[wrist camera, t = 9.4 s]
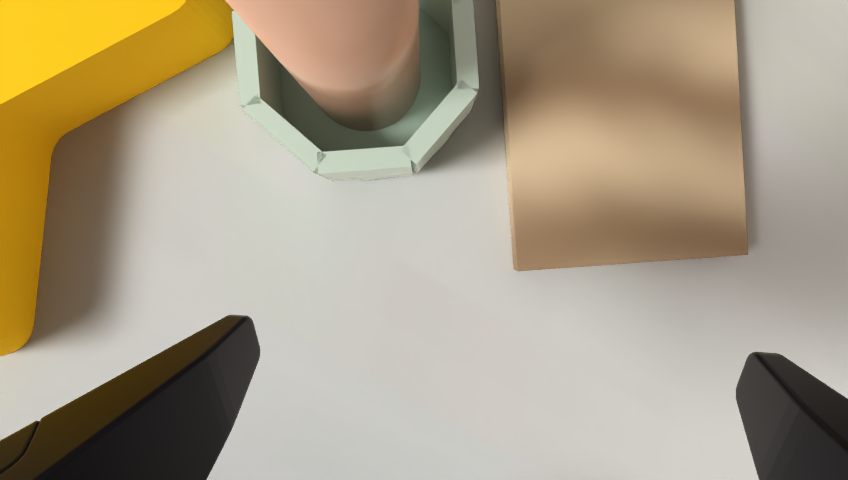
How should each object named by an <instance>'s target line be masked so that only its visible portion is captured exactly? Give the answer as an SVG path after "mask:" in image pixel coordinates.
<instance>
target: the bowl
mask: <svg viewBox="0 0 848 480" xmlns="http://www.w3.org/2000/svg"><path fill="white" fill-rule="evenodd" d="M418 3H419V32H420V62H421V82H420V88H419V92H418V95H417V97H416V100H415V102H414V103H413V105H412V107H411V108H410V109H409V111H408V112H407V113H406V114H405V115H404V116H403V117H402V118H401V119H400V120H398V121H397V122H396V123H394V124H392V125H390V126H388V127H386V128H383V129H379V130H375V131H357V130H352V129H349V128H346V127H344V126H341V125H340V124H338V123H336V122H335V121H333V120H332V119H331V118H330V117H328V116H327V115H326V113H325V112H324V111H323V110H322V109H321V108H320V107H319V106H318V105H317V103H316V102H315V101H314V100H313V99H312V98H311V97H310V96H309V94H308V93H307V92H306V91H305V90H304V89H303V88H302V87H301V85H300V84H299V83H298V82H297V81H296V80H295V79H294V77H293V76H292V75H291V74H290V73H289V72H288V71H287V70H286V68H285V67H284V66H283V65H282V64H281V63H280V62H279V61H278V59H277V58H276V57H275V56H274V55H273V54H272V53H271V51H270V50H269V49H268V48H267V47H266V46H265V45H264V44H263V42H262V41H261V40H260V39H259V38H258V37H257V36H256V35H255V33H254V32H253V31H252V30H251V29H250V28H249V27H248V25H247V24H246V23H245V22H244V21H243V20H242V19H241V18H240V16H239V15H238V14H237V13H236V12H235V11H232V21H233V33H234V45H235V57H236V70H237V82H238V94H239V105H240V106H241V107H243V108H244V109H243V110H242V111H243V112H244V113H245V114H247V115H248V116H249V117H250V118H251V119H252V120H254V121H255V122H256V123H257V124H258V125H259V126H260V127H262V128H263V129H264V130H265V131H266V132H267V133H269V134H270V135H271V136H272V137H273V138H274V139H276V140H277V141H278V142H279V143H280V144H281V145H282V146H284V147H285V148H286V149H287V150H288V151H289V152H291V153H292V154H293V155H294V156H295V157H296V158H298V159H299V160H300V161H301V162H302V163H303V164H304V165H306V166H307V167H308V168H309V169H310V170H311V171H313V172H314V173H316V174H318V175H320V176H323V177H325V178H327V179H330V180H332V181H340V180H354V179H359V180H378V179H385V178H390V177H395V176H409V175H413V170H415V171H416V172H417V173H418V172H419V171H420V170H421V168H422V167H423V166H424V165H425V164H426V163H427V161H428V160H429V159H430V158H431V157H432V156H433V155H434V154H435V153H436V152H437V151H438V150H439V149H440V148H441V147H442V146H443V145H444V144H445V142H446V141H447V140H448V138H449V137H450V136H451V134H452V132H453V131H454V130H455V129H456V128H457V127H458V125H459V124H460V123H461V122H462V121H463V120H464V118H465V117H466V116H467V115H468V114H469V113H470V111H471V108H472V106H473V103H474V101H475V98H476V95H477V92H478V89H479V78H478V64H477V49H476V35H475V20H474V5H473V0H418Z"/></svg>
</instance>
